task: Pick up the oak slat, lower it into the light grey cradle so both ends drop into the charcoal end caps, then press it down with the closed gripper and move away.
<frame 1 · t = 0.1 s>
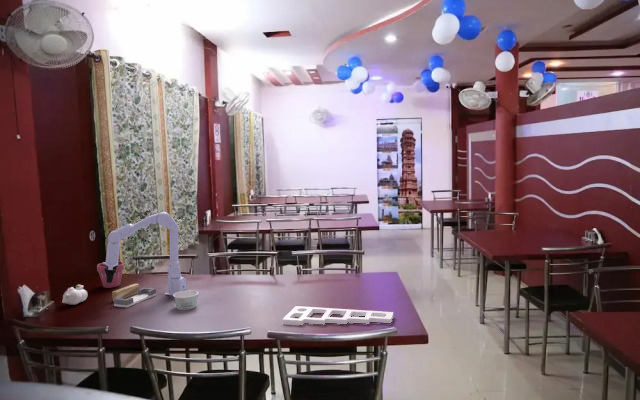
hand: (109, 280, 240), 10 cm above the table, tool pointing down, fingers open, 7 cm apart
plant pot: (111, 285, 271), on the table
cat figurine: (75, 304, 238), on the table
holder: (338, 322, 203), on the table
cradle: (136, 300, 240), on the table
food container: (186, 307, 228), on the table
oak slat: (126, 297, 248), on the table
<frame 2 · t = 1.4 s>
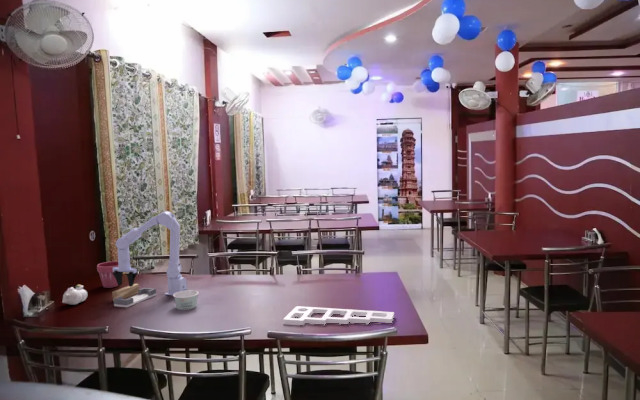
hand: (125, 285, 247), 6 cm above the table, tool pointing down, fingers open, 7 cm apart
nothing on the table moved.
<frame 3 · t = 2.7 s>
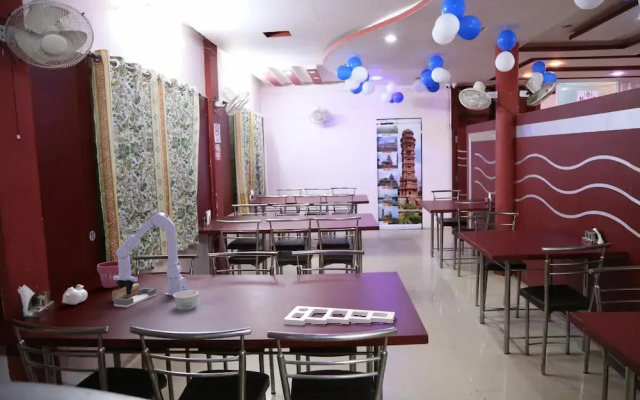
hand: (126, 293, 248), 1 cm above the table, tool pointing down, fingers closed on oak slat, 3 cm apart
oak slat: (126, 296, 248), on the table, touching gripper
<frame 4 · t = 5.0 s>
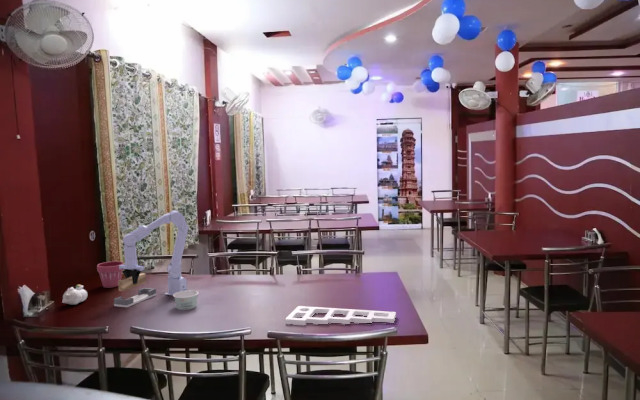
hand: (132, 283, 242), 8 cm above the table, tool pointing down, fingers closed on oak slat, 3 cm apart
oak slat: (132, 286, 242), point 7 cm above the table, touching gripper
when the fingers open (3 cm above the table, at t = 7.2 s): oak slat stays where it is, resting on cradle.
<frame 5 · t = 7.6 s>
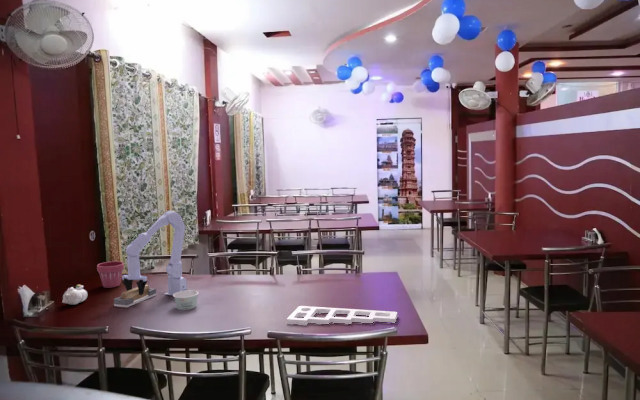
hand: (135, 293, 240), 3 cm above the table, tool pointing down, fingers open, 7 cm apart
oak slat: (136, 298, 240), point 1 cm above the table, touching cradle
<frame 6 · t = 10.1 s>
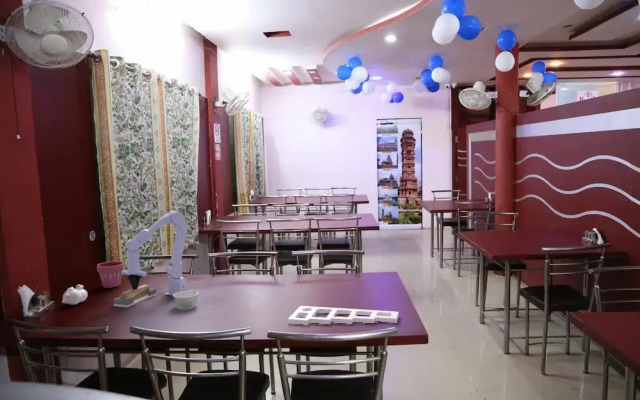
hand: (135, 289, 240), 6 cm above the table, tool pointing down, fingers closed, pressing on oak slat
oak slat: (136, 298, 240), point 1 cm above the table, touching cradle, gripper
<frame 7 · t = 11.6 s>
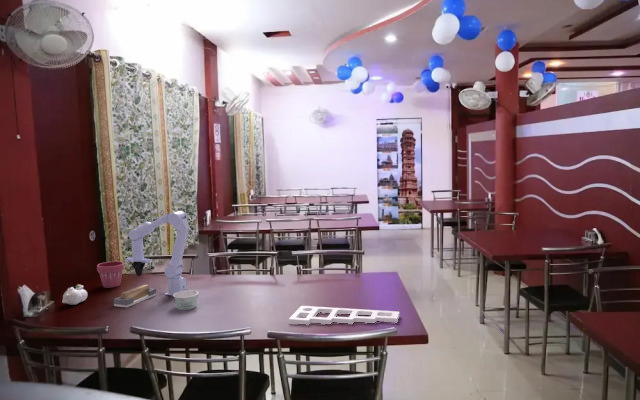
hand: (139, 275, 253), 9 cm above the table, tool pointing down, fingers closed
oak slat: (136, 298, 240), point 1 cm above the table, touching cradle
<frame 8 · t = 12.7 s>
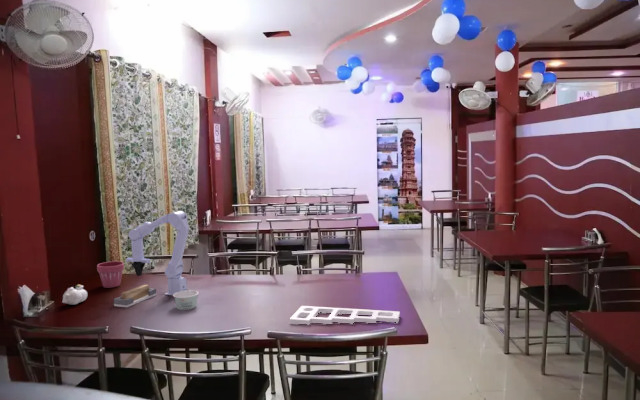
hand: (139, 275, 253), 9 cm above the table, tool pointing down, fingers closed
at the end: oak slat 0.1 cm off-centre on the cradle, point 1.0 cm above the cradle's base; oak slat tilted 0°; the gripper is holding nothing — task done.
